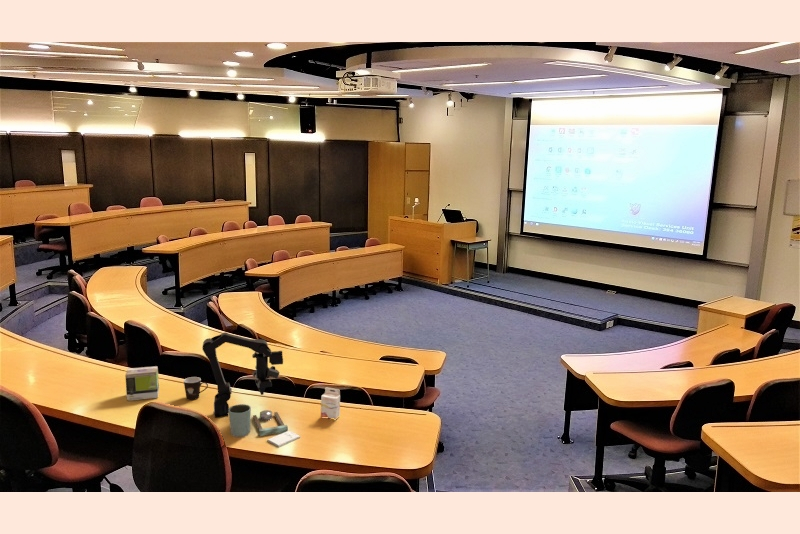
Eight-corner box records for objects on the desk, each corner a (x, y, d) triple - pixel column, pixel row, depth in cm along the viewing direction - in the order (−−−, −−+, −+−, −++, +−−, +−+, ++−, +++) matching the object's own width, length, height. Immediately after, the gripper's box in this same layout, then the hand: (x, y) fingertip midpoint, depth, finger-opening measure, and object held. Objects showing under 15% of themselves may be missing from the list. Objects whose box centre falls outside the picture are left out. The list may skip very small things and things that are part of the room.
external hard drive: (267, 442, 258) (288, 433, 267) (278, 448, 253) (300, 438, 262) (267, 439, 258) (288, 430, 267) (278, 445, 252) (300, 435, 262)
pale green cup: (239, 439, 258) (238, 415, 256) (224, 433, 263) (223, 409, 261) (255, 431, 267) (255, 407, 265) (240, 425, 272) (240, 402, 270)
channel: (259, 436, 262) (259, 431, 262) (252, 418, 280) (251, 413, 280) (287, 431, 268) (287, 426, 267) (278, 414, 285) (278, 409, 285)
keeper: (261, 421, 277) (261, 416, 277) (258, 416, 282) (258, 411, 282) (273, 420, 280) (273, 414, 279) (270, 415, 285) (270, 409, 284)
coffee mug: (180, 399, 300) (179, 381, 298) (192, 393, 308) (191, 375, 306) (198, 403, 295) (197, 385, 294) (209, 397, 303) (208, 379, 302)
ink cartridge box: (320, 418, 283) (320, 390, 281) (324, 414, 288) (324, 386, 285) (336, 420, 281) (336, 392, 279) (340, 416, 286) (340, 389, 283)
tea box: (159, 391, 309) (158, 365, 306) (157, 398, 300) (156, 372, 297) (129, 393, 304) (127, 367, 302) (126, 401, 295) (125, 374, 292)
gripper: (282, 369, 280) (282, 399, 282) (274, 357, 296) (273, 385, 299) (259, 372, 275) (259, 402, 278) (252, 359, 292) (252, 388, 295)
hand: (262, 394), depth 287 cm, fingers closed
